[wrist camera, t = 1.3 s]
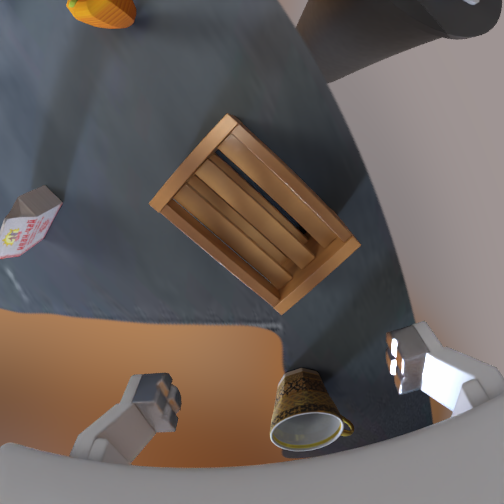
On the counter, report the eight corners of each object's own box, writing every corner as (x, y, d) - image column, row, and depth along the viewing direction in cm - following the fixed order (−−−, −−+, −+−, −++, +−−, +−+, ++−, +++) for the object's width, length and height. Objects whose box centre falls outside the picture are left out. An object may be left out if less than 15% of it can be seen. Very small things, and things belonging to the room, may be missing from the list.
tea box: (26, 222, 36) (-18, 250, 27) (45, 185, 34) (-4, 207, 25) (43, 238, 37) (0, 270, 28) (62, 202, 35) (16, 229, 26)
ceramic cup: (258, 395, 47) (258, 446, 38) (284, 352, 43) (289, 406, 34) (328, 409, 49) (338, 455, 40) (359, 370, 45) (375, 419, 36)
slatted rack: (234, 115, 31) (227, 113, 23) (337, 215, 36) (361, 245, 27) (173, 183, 34) (148, 203, 26) (276, 273, 38) (281, 315, 30)
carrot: (160, 12, 26) (105, -42, 12) (135, 47, 28) (65, 12, 14) (127, -1, 25) (63, -50, 11) (104, 33, 27) (28, 1, 13)
